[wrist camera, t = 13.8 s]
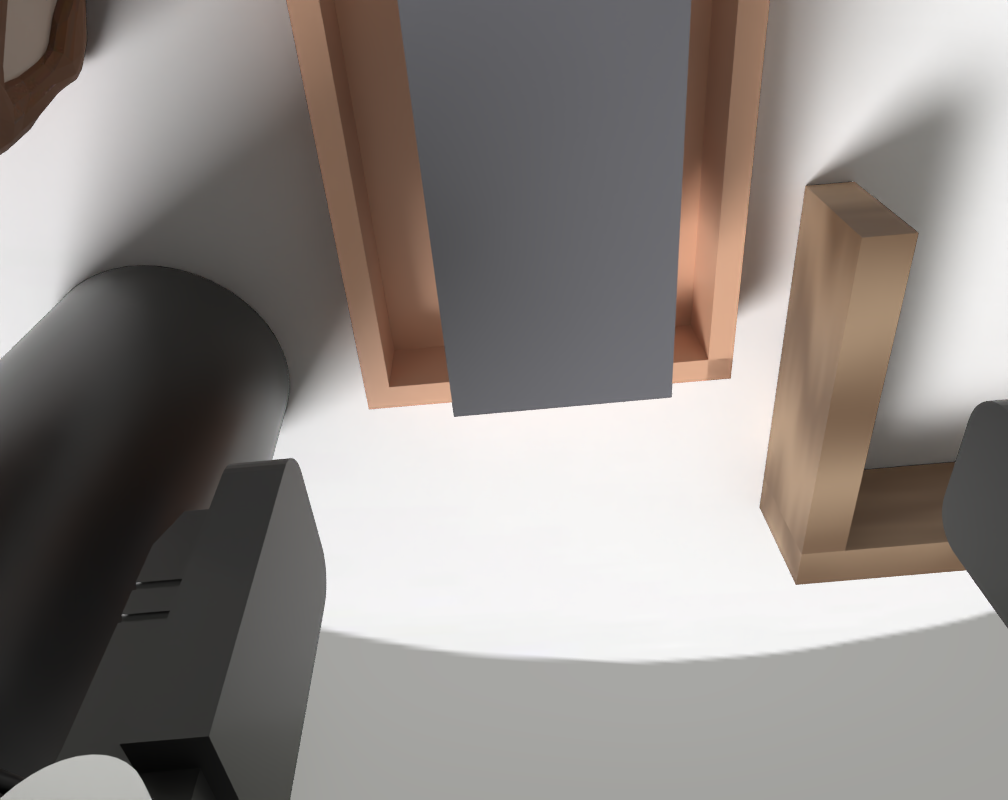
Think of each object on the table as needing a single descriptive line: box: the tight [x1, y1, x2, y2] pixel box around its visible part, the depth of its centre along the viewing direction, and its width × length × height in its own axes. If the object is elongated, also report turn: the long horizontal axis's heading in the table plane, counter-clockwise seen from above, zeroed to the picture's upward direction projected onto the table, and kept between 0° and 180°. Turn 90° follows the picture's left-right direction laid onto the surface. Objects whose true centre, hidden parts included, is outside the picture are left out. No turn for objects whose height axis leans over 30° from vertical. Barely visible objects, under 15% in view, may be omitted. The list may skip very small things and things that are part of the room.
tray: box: [286, 0, 770, 409], centre depth 23 cm, size 17×12×3 cm
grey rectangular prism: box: [397, 0, 691, 417], centre depth 21 cm, size 10×6×8 cm, turn 4°
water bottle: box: [0, 266, 289, 798], centre depth 19 cm, size 10×10×23 cm
